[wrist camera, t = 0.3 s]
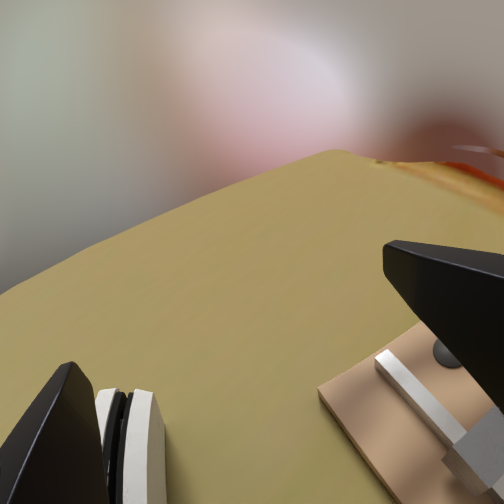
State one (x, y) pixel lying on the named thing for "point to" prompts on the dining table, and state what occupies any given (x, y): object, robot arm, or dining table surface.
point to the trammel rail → (427, 408)
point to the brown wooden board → (408, 418)
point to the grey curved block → (132, 446)
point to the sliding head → (479, 454)
